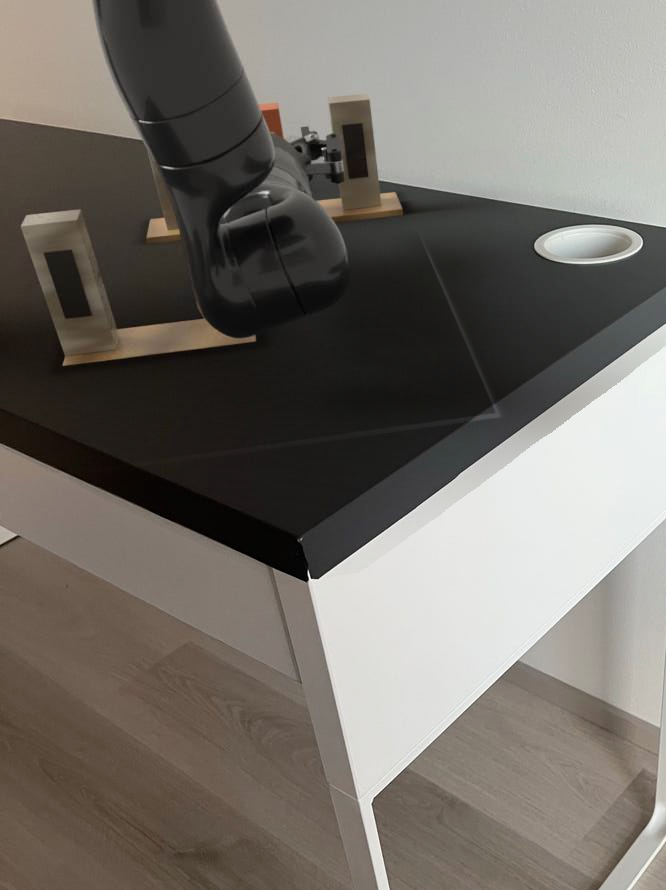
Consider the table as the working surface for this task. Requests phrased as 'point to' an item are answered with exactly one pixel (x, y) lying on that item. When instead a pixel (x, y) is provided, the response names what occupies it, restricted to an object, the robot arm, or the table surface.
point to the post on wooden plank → (97, 299)
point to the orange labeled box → (272, 118)
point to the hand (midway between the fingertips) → (258, 143)
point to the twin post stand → (355, 192)
